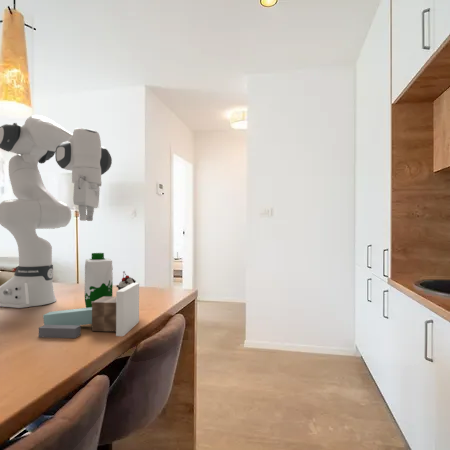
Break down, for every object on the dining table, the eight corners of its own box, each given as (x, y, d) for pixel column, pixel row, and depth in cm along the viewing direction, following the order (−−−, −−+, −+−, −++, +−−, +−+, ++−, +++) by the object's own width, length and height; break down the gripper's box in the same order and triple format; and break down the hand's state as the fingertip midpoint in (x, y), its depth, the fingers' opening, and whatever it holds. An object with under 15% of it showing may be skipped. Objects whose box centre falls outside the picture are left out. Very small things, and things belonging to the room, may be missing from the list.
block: (91, 330, 98) (92, 302, 98) (103, 322, 106) (103, 296, 106) (120, 331, 98) (120, 302, 98) (129, 323, 106) (129, 296, 106)
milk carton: (109, 308, 126) (109, 252, 126) (114, 314, 118) (114, 254, 118) (83, 311, 122) (83, 253, 122) (86, 317, 114) (86, 255, 114)
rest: (38, 337, 93) (38, 327, 93) (45, 333, 96) (45, 324, 96) (75, 338, 93) (75, 328, 93) (80, 334, 96) (80, 325, 96)
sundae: (117, 320, 111) (117, 272, 111) (114, 314, 117) (114, 269, 117) (138, 317, 113) (138, 271, 113) (134, 313, 119) (135, 268, 119)
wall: (116, 336, 95) (116, 291, 95) (132, 321, 109) (132, 282, 109) (123, 336, 95) (123, 291, 95) (139, 321, 109) (139, 282, 109)
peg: (44, 329, 101) (43, 315, 101) (51, 325, 105) (49, 311, 105) (107, 322, 101) (106, 308, 101) (111, 318, 105) (110, 305, 105)
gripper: (90, 174, 105) (90, 220, 105) (102, 182, 125) (102, 221, 125) (67, 173, 104) (67, 220, 104) (83, 181, 124) (83, 220, 124)
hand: (86, 220), depth 115 cm, fingers open, 8 cm apart
